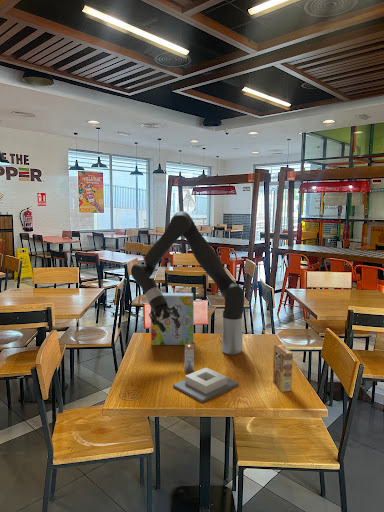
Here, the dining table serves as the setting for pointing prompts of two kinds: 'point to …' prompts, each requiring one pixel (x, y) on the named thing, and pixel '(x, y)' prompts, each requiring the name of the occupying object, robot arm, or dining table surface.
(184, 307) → the snack box
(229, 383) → the dock
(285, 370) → the candy box
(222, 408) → the dining table surface
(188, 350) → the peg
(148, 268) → the robot arm
